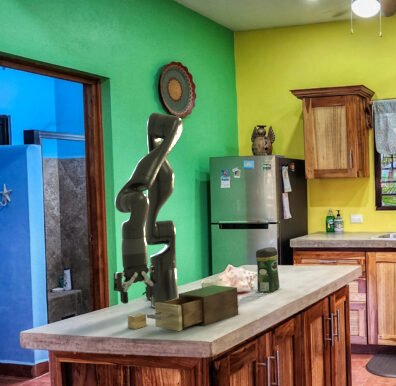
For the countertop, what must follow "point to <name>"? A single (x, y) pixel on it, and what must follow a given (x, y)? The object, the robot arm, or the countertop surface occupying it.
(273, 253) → the coffee jar
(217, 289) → the cabinet
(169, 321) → the drawer
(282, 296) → the countertop surface
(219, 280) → the white cup
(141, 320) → the block
